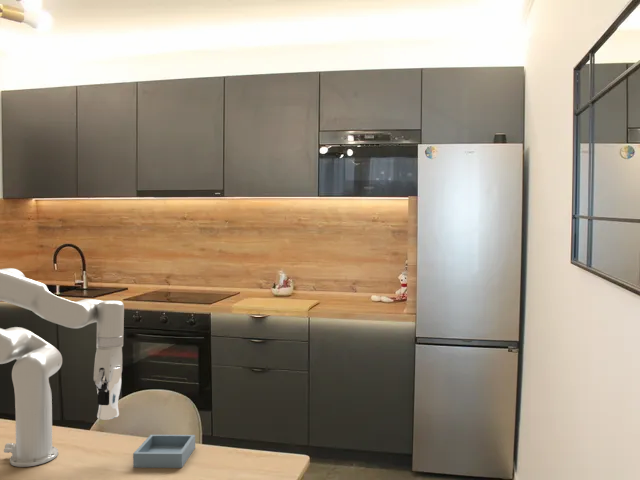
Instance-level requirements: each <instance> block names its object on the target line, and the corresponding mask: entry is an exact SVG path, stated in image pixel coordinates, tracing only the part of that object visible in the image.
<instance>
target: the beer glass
mask: <svg viewBox="0 0 640 480" xmlns="http://www.w3.org/2000/svg"><path fill="white" fill-rule="evenodd" d="M106 380H107V378H106V377H105V375H104V377H103V380H102V381H106ZM102 384H104V385H105V386H106V383H102ZM121 389H122V373H121V365H120V367H118V368H115V369H114V371H113V376H112V381H110V382H109V389H108V391H109V405H98V410H97V414H96V417H97V419H99V420H103V421H104V420H105V421H106V420H112V419H117V418H118V417H119V416H120V411H119V398H120V393H121ZM97 394H98V392H97Z"/></svg>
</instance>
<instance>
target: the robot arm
mask: <svg viewBox="0 0 640 480" xmlns="http://www.w3.org/2000/svg"><path fill="white" fill-rule="evenodd" d="M0 302H4V303H7V304H11V305H14V306H17V307H20V308H23V309H25V310H29V311H32V313H34V315H37V316H39V317H40V318H41V319H44V320H46V321H48V322H51V323H53V324H55V325H56V324H57V325H60V326H63V327H65V328H70V329H81V328H85V327H86V326H88V325H91V324H94V323H96V350H95V351H96V352H95V356H94V365H93V366H94V367H93V381H94V383H95V384H94V385H96V386H95V387H96V391H97V392H98V393H97V406H99V405H109V391H108V389H109V382H110V381H112V376H113V371H114V369H115V368H118V367H120V365H121V374H122V373H123V347H124V333H125V332H124V331H125V330H124V329H125V328H124V325H125V324H124V323H125V322H124V320H125V319H124V318H125V304H124V302H123V301H121V300H116V299H115V300H113V299H111V300H102V299H101V300H100V299H94V298H93V299H92V298H85V299H81V300H78V301H72V300H70V299H66V298H64V297H61V296H57V295H55V294H53V293H52V292H51V291H49V288H48V286H47V284H45V283H43V282H40V281H38V280H34V279H31V278H28V277H26V275H25V274H24V273H23V272H22V271H21V270H19V269H17V268H13V267H12V268H11V267H8V268H7V267H5V268H0ZM15 360H16V361H15ZM12 361H15V362H14V365H13V366H12V369H11V380H12V384H13V389H14V406H15V407H14V408H15V443H13V442H7V443H5V445H4V449H3V453H5V454H8V453H11V456H10V457H9V464H10V465H11V466H14V467H16V468H17V467H18V468H26V467H27V468H28V467H35V466H38V465H43V464H46V463H47V462H50V461H52V460H54V459H55V458H56V457H58V455H59V449H58V448H57V447H55V446H53V404H52V403H53V401H52V399H53V397H52V396H53V395H52V389H51V383H50V377H52V376H53V375H55V374H56V373H58V371H59V370H60V369H61V367H62V365H63V356H62V354H61V352H60V351H59V349H57V348H56V347H55V346H54V345H52V344H51V343H50V342H48V341H46V340H45V339H43V338H42V337H40V336H39V335H37V334H35V333H34V332H33V331H31V330H29V329H27V328H24V327H20V326H19V327H18V326H14V327H9V328H6V329H4V328H1V327H0V365H3V364H7V363H10V362H12ZM104 375H105V377H106V378H107V380H106V381H102V380H103V377H104ZM102 383H106V386H105V385H104V384H102Z"/></svg>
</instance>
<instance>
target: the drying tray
mask: <svg viewBox="0 0 640 480" xmlns="http://www.w3.org/2000/svg"><path fill="white" fill-rule="evenodd" d="M195 449H196V435H195V434H149V436H148V437H147V438H146V439H145V440H144V441H143V443H142V444H140V446H139V447H138V448H137V449H135V451H134V452H133V454H132V456H133V457H132V458H133V459H132V460H133V462H132V465H133V467H132V468H135V469H136V468H137V469H139V468H145V469H146V468H151V469H152V468H153V469H155V468H156V469H158V468H159V469H160V468H162V469H165V468H167V469H169V468H170V469H182V468H183V467H184V466H185V464H186V462H187V461H188V459H189V458H190V457H191V455H192V454H193V452H194V451H195Z"/></svg>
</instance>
